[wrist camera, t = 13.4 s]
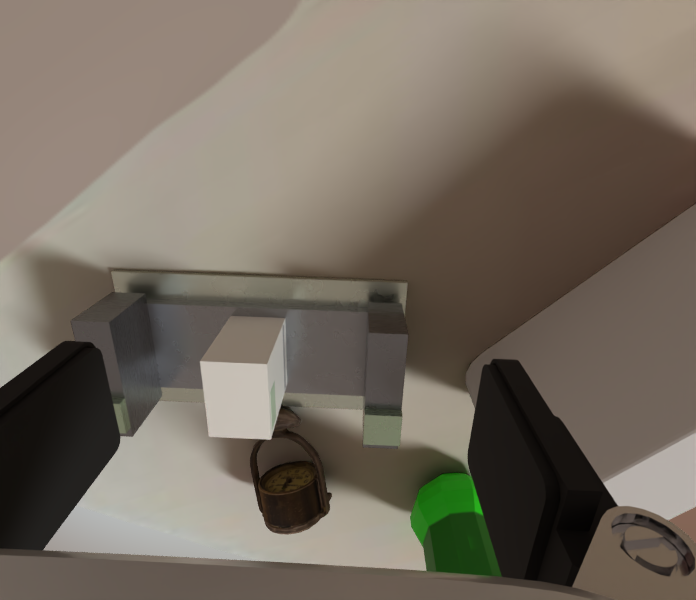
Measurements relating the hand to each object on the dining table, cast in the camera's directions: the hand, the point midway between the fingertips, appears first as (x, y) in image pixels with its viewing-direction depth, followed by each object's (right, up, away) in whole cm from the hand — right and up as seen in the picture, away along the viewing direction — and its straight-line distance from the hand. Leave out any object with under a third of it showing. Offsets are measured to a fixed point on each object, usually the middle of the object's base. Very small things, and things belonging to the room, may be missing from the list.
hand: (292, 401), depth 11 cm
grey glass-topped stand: (-7, -2, +32) cm, 32 cm away
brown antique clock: (-4, -14, +37) cm, 40 cm away
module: (-7, -2, +30) cm, 31 cm away
